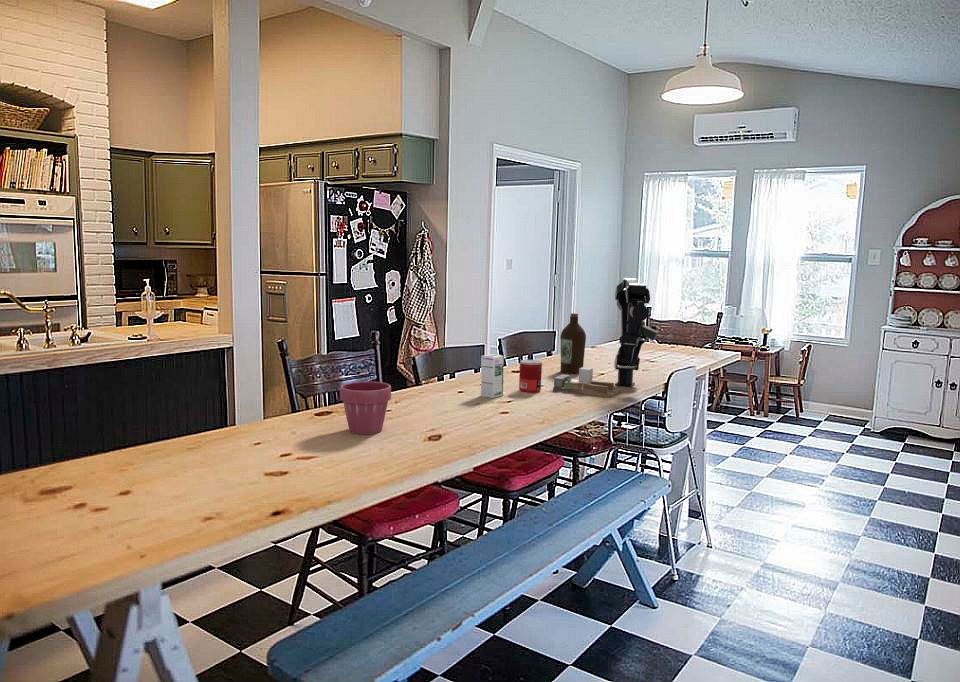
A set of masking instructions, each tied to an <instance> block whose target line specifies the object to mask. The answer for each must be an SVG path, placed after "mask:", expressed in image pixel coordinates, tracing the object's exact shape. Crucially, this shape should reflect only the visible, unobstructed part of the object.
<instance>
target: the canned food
mask: <svg viewBox="0 0 960 682" xmlns="http://www.w3.org/2000/svg"><path fill="white" fill-rule="evenodd" d="M542 369H543V362H542V361H541V360H538V359H521V360H520V361H519V380H518V382H519V383H518V389H519V391H520V392H521V393H526V392H527V394H528V393H529V394H536V392H537V393H540V392H541V390H542V375H543V373H542V371H543V370H542Z"/></svg>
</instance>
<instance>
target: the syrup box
mask: <svg viewBox="0 0 960 682" xmlns="http://www.w3.org/2000/svg"><path fill="white" fill-rule="evenodd" d="M480 357H481V358H480V359H481V361H480V362H481V363H480V365H481V367H480V396H481V397H485V398H488V399H489V398H491V399H495V398H499V397H503V396H504V355H502V354H498V353H497V354H495V353H494V354H491V353H490V354H486V355H485V354H484V355H481V356H480Z"/></svg>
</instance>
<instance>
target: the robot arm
mask: <svg viewBox="0 0 960 682" xmlns="http://www.w3.org/2000/svg"><path fill="white" fill-rule="evenodd" d="M614 299H615V301H616V306H617V308H618V309H619V311H620V333H621V334H620V337H619V343H620V347H619V348H618V350H617V352H616V353H615V358H614V363H613V364H614V365H613V367H614V370H617V382H614V386H623V387H633V386H635V385H636V382H633V379H634V371H638V370H639V369H640V368H639V367H640V361H641V359H640V356H639V355H640V353H641V349H642V346H643V345H644V344H646V342H648V340H651V341H655V340H656V339H657V337H658V335H659V330H658V326H656V325H652V326H648V325H646V321H645V320H646V319H648V317H649V313H650V311H649V309H648V308H647V306H646V305H645V304H650V302H651V295H650V290H649V288H648V287H647V285H646V284H645V283H638V281H637V278H632V277H625V278H623V279H622V281H621V282H620V283H619V284H618V285H616V288H615V292H614ZM619 343H618V344H619Z"/></svg>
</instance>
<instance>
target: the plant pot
mask: <svg viewBox="0 0 960 682" xmlns="http://www.w3.org/2000/svg"><path fill="white" fill-rule="evenodd" d="M339 399H340V401H341V402H343V408H344V412H345V417H346V421H347V422H346V423H347V425H348V430H349V432H350V433H352V434H357V435H371V434H372V435H374V434H378V433H380V432H382V430H383V427H384V422H385V419H386V418H385V417H386V413H387V409H388V408H387V407H388V403H389V401H390V400H392V386H391V384H389V383H386V382H383V381H382V382H381V381H355V382H347V383H344V384H342V385H340V387H339Z"/></svg>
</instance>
